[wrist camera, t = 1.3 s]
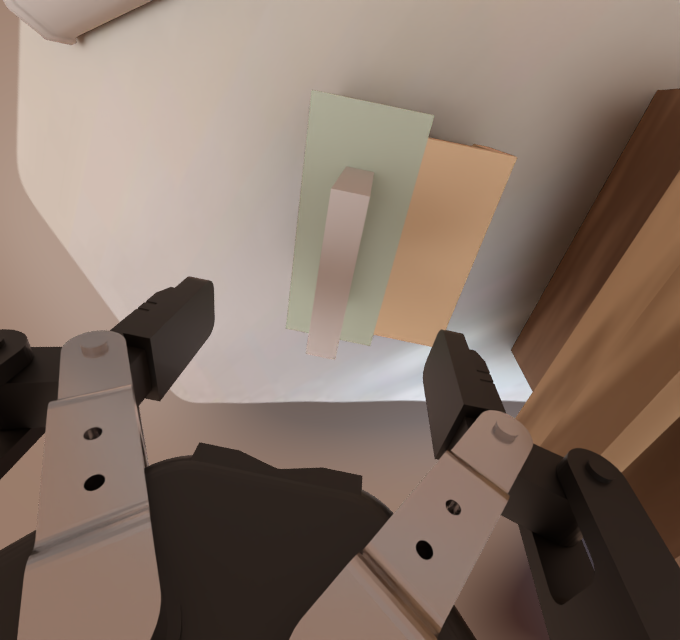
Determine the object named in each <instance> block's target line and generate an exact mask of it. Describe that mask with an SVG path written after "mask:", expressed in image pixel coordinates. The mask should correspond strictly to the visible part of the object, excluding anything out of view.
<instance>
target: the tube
mask: <svg viewBox="0 0 680 640" xmlns="http://www.w3.org/2000/svg"><path fill="white" fill-rule="evenodd" d="M3 1H4V3H5V5H6V6H7V8H8V9H9V10H10V11H12V12H13V13H14V14H15V15H17V16H18V17H19V18H20V19H21V20H23V21H24V22H25V23H26V24H28V25H29V26H30V27H31V28H32V29H34V30H35V31H36V32H37V33H39V34H40V35H41V36H42V37H43V38H45V39H46V40H50V41H55V42H60V43H64V44H69V45H73V44H75V43H76V37H78V36H79V35H81V34H83V33H85V32H87V31H90V30H92V29H94V28H96V27H98V26H100V25H102V24H104V23H106V22H108V21H110V20H112V19H115V18H117V17H119V16H121V15H123V14H125V13H127V12H129V11H131V10H133V9H135V8H137V7H139V6H142V5H144V4H146V3H148V2H150V1H152V0H3Z"/></svg>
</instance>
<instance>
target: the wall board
mask: <svg viewBox="0 0 680 640" xmlns="http://www.w3.org/2000/svg"><path fill="white" fill-rule="evenodd" d="M511 351H512V353H513V355H514V357H515V359H516V361H517V363H518V365H519V366H520V368H521V370H522V372H523V374H524V376H525V378H526V380H527V382H528V384H529V385H530V387H531V389H532V391H533V393H532V394H531V396H530V397H529V399H528V400H527V402H526V403H525V405H524V406H523V408H522V409H521V411H520V412H519V414H518V415H517V417H516V418H515V419H517V420H518V421H519V422H520V423H522V424H523V425H524V426H525V427H526V429H527V430H528V431H529V433H530V435H531V437H532V440H533V443H534V444H536V445H538V446H540V447H542V448H544V449H546V450H549V451H551V452H553V453H555V454H558V455H560V456H562V457H565V456H566V454H567V453H568V452H569V451H570V450H571V449H574V448H583V449H587V450H590V451H593V452H595V453H597V454H599V455H601V456H602V457H604V458H605V459H607V460H608V461H610V462H611V463H612V464H613V465H614V466H616V467H617V468H618V469H619V471H620V472H621V473H622V474H623V475H624V477H625V478H626V480H627V481H628V483H629V484H630V486H631V488H632V489H633V491H634V493H635V494H636V496H637V498H638V499H639V501H640V503H641V504H642V506H643V508H644V509H645V511H646V513H647V514H648V516H649V518H650V519H651V521H652V523H653V524H654V526H655V528H656V529H657V531H658V533H659V534H660V536H661V538H662V539H663V541H664V543H665V544H666V546H667V548H668V549H669V551H670V552H671V554H672V556H673V557H674V559H675V561H676V562H677V564H678V566H679V567H680V89H669V90H657V92H656V94H655V96H654V97H653V99H652V101H651V103H650V104H649V106H648V108H647V110H646V112H645V113H644V115H643V117H642V119H641V120H640V122H639V124H638V126H637V128H636V129H635V131H634V133H633V135H632V136H631V138H630V140H629V142H628V143H627V145H626V147H625V149H624V151H623V152H622V154H621V156H620V158H619V159H618V161H617V163H616V165H615V167H614V168H613V170H612V172H611V174H610V175H609V177H608V179H607V181H606V183H605V184H604V186H603V188H602V190H601V191H600V193H599V195H598V197H597V198H596V200H595V202H594V204H593V206H592V207H591V209H590V211H589V213H588V214H587V216H586V218H585V220H584V222H583V223H582V225H581V227H580V229H579V230H578V232H577V234H576V236H575V238H574V239H573V241H572V243H571V245H570V246H569V248H568V250H567V252H566V253H565V255H564V257H563V259H562V261H561V262H560V264H559V266H558V268H557V269H556V271H555V273H554V275H553V277H552V278H551V280H550V282H549V284H548V285H547V287H546V289H545V291H544V293H543V294H542V296H541V298H540V300H539V301H538V303H537V305H536V307H535V308H534V310H533V312H532V314H531V316H530V317H529V319H528V321H527V323H526V324H525V326H524V328H523V330H522V332H521V333H520V335H519V337H518V339H517V340H516V342H515V344H514V346H513V348H512V349H511Z"/></svg>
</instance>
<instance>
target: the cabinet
mask: <svg viewBox="0 0 680 640" xmlns="http://www.w3.org/2000/svg"><path fill="white" fill-rule="evenodd" d="M433 119H434V115H431V114H426V113H421V112H416V111H412V110H407V109H402V108H397V107H392V106H388V105H383V104H378V103H373V102H368V101H364V100H359V99H354V98H349V97H345V96H340V95H335V94H330V93H325V92H321V91H316V90H312V91H311V100H310V109H309V119H308V128H307V137H306V146H305V156H304V165H303V174H302V183H301V193H300V202H299V211H298V220H297V230H296V239H295V248H294V257H293V267H292V276H291V285H290V294H289V304H288V313H287V322H286V329H291V330H296V331H301V332H305V333H309V335H308V342H307V348H306V354H310V355H314V356H319V357H324V358H329V359H334V360H335V358H336V353H337V348H338V344H339V340H344V341H348V342H353V343H358V344H363V345H367V346H370V345H371V341H372V337H373V335H378V336H383V337H388V338H392V339H397V340H402V341H407V342H411V343H416V344H421V345H426V346H431V347H432V346H433V343H434V341H435V338H436V336H437V334H438V332H439V331H440V330H441V329H443V330H446V328H447V325H448V323H449V320H450V318H451V316H452V313H453V311H454V308H455V306H456V304H457V301H458V299H459V296H460V294H461V292H462V289H463V287H464V284H465V282H466V279H467V277H468V275H469V272H470V270H471V267H472V265H473V263H474V260H475V258H476V255H477V253H478V251H479V248H480V246H481V243H482V241H483V239H484V236H485V234H486V231H487V229H488V227H489V224H490V222H491V219H492V217H493V214H494V212H495V210H496V207H497V205H498V202H499V200H500V198H501V195H502V193H503V190H504V188H505V186H506V183H507V181H508V178H509V176H510V174H511V171H512V169H513V166H514V164H515V162H516V159H517V157H515V156H513V155H510V154H507V153H504V152H501V151H498V150H495V149H493V148H490V147H486V146H481V145H476V144H473V145H472V146H468V145H463V144H458V143H453V142H449V141H444V140H439V139H434V138H429V133H430V130H431V126H432V122H433Z"/></svg>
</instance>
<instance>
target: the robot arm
mask: <svg viewBox="0 0 680 640" xmlns="http://www.w3.org/2000/svg"><path fill="white" fill-rule="evenodd" d="M214 320H215V315H214V286H213V283H212V281H209V280H204V279H199V278H195V277H187V278H186V279H185V280H183V281H182V282H181V283H180V284H179V285H178V286H177V287H175V288H173V287H170V288H167V289H164V290H162V291H159V292H157V293H155V294H154V295H153V296H152V297H150V298H149V299H148V300H147V301H146V303H145V302H144V303H143V304H142V305H141V306H139V307H138V309H136V310H134V311H133V312H132V313H131V314H130V315H128V316H127V317H126V318H125V319H123V320H122V321H121V322H120V323H118V324H117V325H116V326H115V327H114V328H112V329H111V330H110V331H92V332H87V333H83V334H81V335H78V336H76V337H74V338H72V339H70V340H69V341H67V342H66V343H65V344H64V345H63V347H30V344H29V342H28V339H27V337H26V335H25V334H23V333H22V332H19V331H15V330H3V329H2V330H0V479H1V478H2V477H3V476H4V475H5V474H6V473H7V472H8V471H9V470H10V469H11V468H12V467H13V466H14V465H15V464H16V462H17V461H18V460H19V459H20V458H21V457H22V456H23V455H24V454H25V453H26V452H27V451H28V450H29V449H30V448H31V447H32V446H33V445H34V444H35V443H36V442H37V440H38V439H39V438H40V437H41V436H42V435H43V434H44V433H45V442H44V443H45V444H44V452H43V453H44V454H43V463H42V475H41V485H40V497H39V507H38V517H37V529H36V530H35V531H33V532H31V533H30V534H28V535H26V536H24V537H23V538H21V539H19V540H17V541H16V542H14V543H12V544H10V545H9V546H7V547H5V548H4V549H2V550H0V640H477V639H476V638H475V636H474V635H473V633H472V632H471V630H470V629H469V627H468V626H467V624H466V622H465V621H464V619H463V618H462V616H461V615H460V613H459V612H458V610H457V608H456V607H455V605H454V603H455V601H456V599H457V597H458V595H459V593H460V592H461V590H462V588H463V586H464V584H465V582H466V580H467V578H468V576H469V574H470V573H471V571H472V569H473V567H474V565H475V563H476V561H477V559H478V557H479V555H480V553H481V552H482V550H483V548H484V546H485V544H486V542H487V540H488V538H489V536H490V534H491V532H492V530H493V529H494V527H495V525H496V523H497V521H498V519H499V517H500V515H502V516H504V517H506V518H508V519H509V520H511V521H513V522H515V523H517V524H518V525H519V529H520V533H521V536H522V540H523V544H524V547H525V551H526V555H527V558H528V562H529V566H530V569H531V573H532V577H533V580H534V584H535V587H536V591H537V595H538V599H539V602H540V605H541V610H542V613H543V617H544V620H545V624H546V628H547V632H548V635H549V639H550V640H680V567H679V566H678V564H677V562H676V561H675V559H674V557H673V556H672V554H671V552H670V551H669V549H668V548H667V546H666V544H665V543H664V541H663V539H662V538H661V536H660V534H659V533H658V531H657V529H656V528H655V526H654V524H653V523H652V521H651V519H650V518H649V516H648V514H647V513H646V511H645V509H644V508H643V506H642V504H641V503H640V501H639V499H638V498H637V496H636V494H635V493H634V491H633V489H632V488H631V486H630V484H629V483H628V481H627V480H626V478H625V477H624V475H623V474H622V473H621V472H620V471H619V469H618V468H617V467H616V466H614V465H613V464H612V463H611V462H610V461H608V460H607V459H605V458H604V457H602V456H601V455H599V454H597V453H595V452H593V451H590V450H587V449H583V448H574V449H571V450H570V451H569V452H568V453H567V454H566V456H565V457H562V456H560V455H558V454H555V453H553V452H551V451H549V450H546V449H544V448H542V447H540V446H538V445H536V444H534V443H533V440H532V437H531V435H530V433H529V431H528V430H527V429H526V427H525V426H524V425H523V424H522V423H520V422H519V421H518V420H517V419H515V418H513V417H512V416H510V415H508V414H506V412H505V409H504V407H503V404H502V402H501V399H500V397H499V394H498V392H497V389H496V387H495V385H494V384H493V380H492V377H491V375H489V373H490V372H489V370H488V367H487V365H486V362H485V361H484V360H483V359H482V358H481V356H480V355H479V354H478V353H477V352H476V351H474V350H469V348H468V345H467V342H466V340H465V337H464V335H463V334H462V333H457V332H452V331H447V330H443V329H441V330H440V331H439V332H438V334H437V336H436V338H435V341H434V343H433V346H432V348H431V351H430V353H429V356H428V358H427V361H426V363H425V366H424V371H423V384H424V391H425V397H426V404H427V410H428V417H429V424H430V430H431V437H432V444H433V450H434V457H435V459H438V461H437V463H436V464H435V465H434V466H433V467H432V469H431V470H430V471H429V472H428V473H427V474H426V476H425V477H424V478H423V479H422V480H421V482H420V483H419V484H418V485H417V486H416V488H415V489H414V490H413V491H412V492H411V494H410V495H409V496H408V497H407V498H406V500H405V501H404V502H403V503H402V504H401V505H400V507H399V508H398V509H397V510H396V511H395V513H393V512H392V511H391V510H390V509H389V508H388V507H387V506H386V505H385V504H383V503H382V502H381V501H380V500H378V499H377V498H375V497H374V496H372V495H371V494H369V493H368V492H366V491H364V490H362V476H361V475H356V474H351V473H346V472H341V471H336V470H331V469H327V468H301V469H300V468H299V469H277V468H274V467H272V466H270V465H268V464H266V463H264V462H262V461H260V460H258V459H256V458H254V457H252V456H250V455H247V454H246V453H243V452H241V451H239V450H234V449H229V448H224V447H219V446H214V445H209V444H205V443H199V445H198V446H197V448H196V450H195V452H194V454H193V455H188V456H180V457H175V458H171V459H166V460H163V461H160V462H158V463H155V464H152V465H150V466H149V463H148V457H147V452H146V445H145V439H144V433H143V427H142V421H141V414H140V408H139V405H140V404H141V402H142V401H143V400H144V398H146V399H151V400H156V401H160V400H161V399H162V398H163V397H164V395H165V394H166V393H167V391H168V390H169V389H170V387H171V386H172V385H173V383H174V382H175V381H176V379H177V378H178V377H179V376H180V374H181V373H182V372H183V370H184V369H185V368H186V366H187V365H188V364H189V362H190V361H191V360H192V358H193V357H194V356H195V354H196V353H197V352H198V351H199V349H200V348H201V347H202V345H203V344H204V343H205V341H206V340H207V339H208V337H209V336H210V334H211V332H212V330H213V326H214ZM582 538H584V540H585V543H586V545H587V547H588V550H589V552H590V554H591V557H592V560H593V563H594V569H595V571H594V569H593V567H592V564H591V562H590V559H589V557H588V555H587V552H586V550H585V547H584V545H583V542H582V540H581V539H582Z"/></svg>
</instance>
